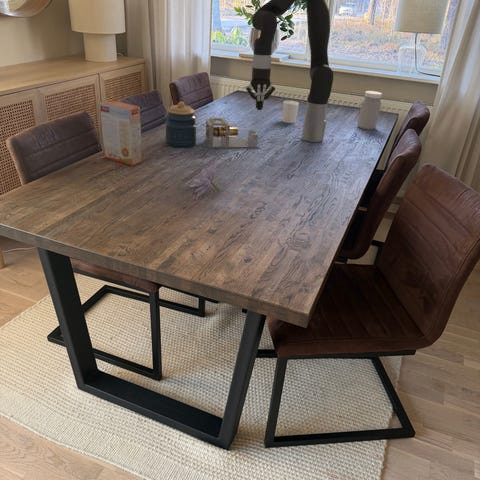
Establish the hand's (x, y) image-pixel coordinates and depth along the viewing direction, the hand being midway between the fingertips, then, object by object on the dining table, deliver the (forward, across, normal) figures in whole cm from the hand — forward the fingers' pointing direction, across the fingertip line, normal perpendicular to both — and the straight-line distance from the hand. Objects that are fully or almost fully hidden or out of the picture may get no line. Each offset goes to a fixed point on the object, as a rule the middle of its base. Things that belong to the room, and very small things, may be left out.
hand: (259, 109), depth 187 cm
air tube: (+12, +16, -1) cm, 19 cm away
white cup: (+16, -28, -36) cm, 49 cm away
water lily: (+15, +32, +47) cm, 59 cm away
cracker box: (+14, +58, +16) cm, 61 cm away
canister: (+14, +33, -2) cm, 36 cm away
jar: (+17, -68, -25) cm, 75 cm away
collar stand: (+15, +11, -1) cm, 19 cm away
